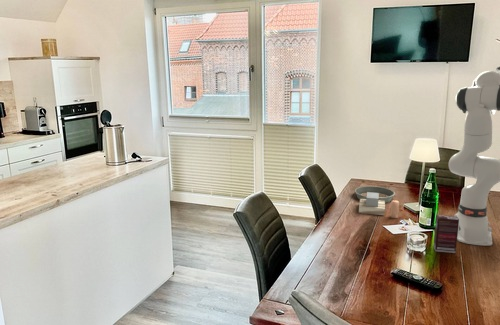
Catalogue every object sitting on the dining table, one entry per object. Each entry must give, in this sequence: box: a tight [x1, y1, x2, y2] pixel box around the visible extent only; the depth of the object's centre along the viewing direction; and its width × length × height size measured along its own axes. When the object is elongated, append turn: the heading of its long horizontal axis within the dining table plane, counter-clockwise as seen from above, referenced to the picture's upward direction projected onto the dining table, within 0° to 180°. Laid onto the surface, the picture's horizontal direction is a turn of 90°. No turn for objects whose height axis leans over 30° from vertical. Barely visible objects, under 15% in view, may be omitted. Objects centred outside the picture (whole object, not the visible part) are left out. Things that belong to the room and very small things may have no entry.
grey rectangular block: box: [366, 192, 379, 207], centre depth 226 cm, size 11×6×5 cm, turn 162°
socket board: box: [358, 199, 386, 216], centre depth 227 cm, size 14×14×4 cm
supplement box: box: [432, 214, 459, 254], centre depth 174 cm, size 9×5×16 cm, turn 74°
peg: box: [389, 199, 400, 219], centre depth 215 cm, size 4×4×9 cm
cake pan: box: [354, 185, 396, 204], centre depth 249 cm, size 25×25×4 cm
